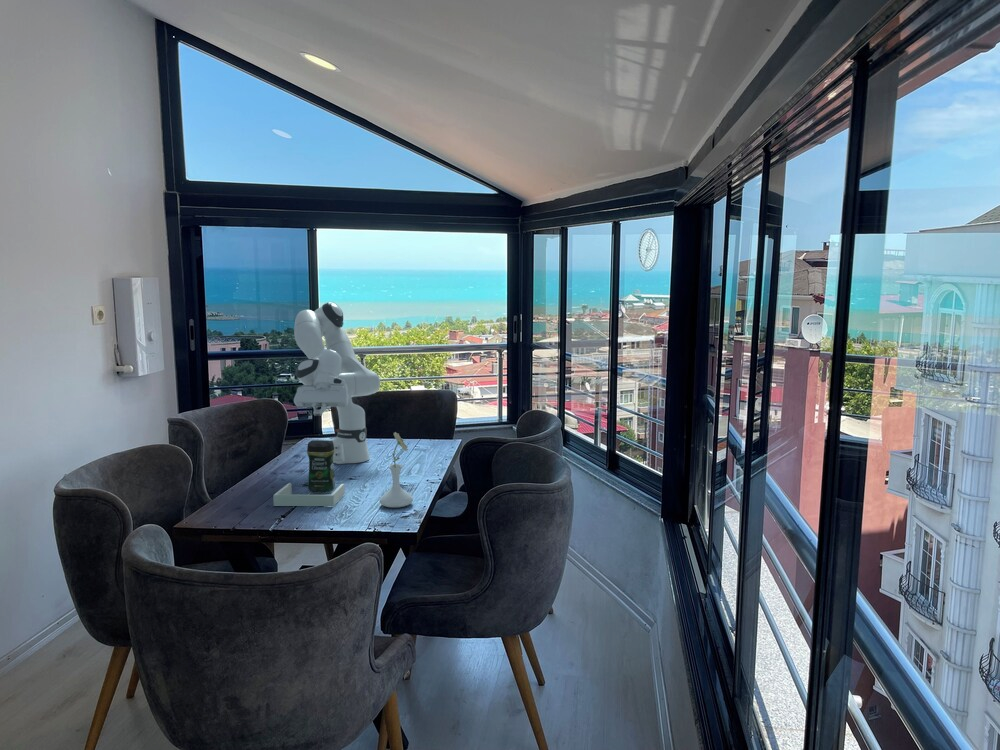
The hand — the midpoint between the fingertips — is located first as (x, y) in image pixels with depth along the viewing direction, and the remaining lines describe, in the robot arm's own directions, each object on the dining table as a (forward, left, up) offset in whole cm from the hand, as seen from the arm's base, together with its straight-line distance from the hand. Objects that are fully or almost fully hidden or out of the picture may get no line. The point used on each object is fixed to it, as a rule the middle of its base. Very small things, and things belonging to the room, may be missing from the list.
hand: (317, 414), depth 244 cm
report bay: (+11, -14, -27) cm, 33 cm away
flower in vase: (+40, -2, -28) cm, 48 cm away
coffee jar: (+4, -3, -28) cm, 28 cm away
